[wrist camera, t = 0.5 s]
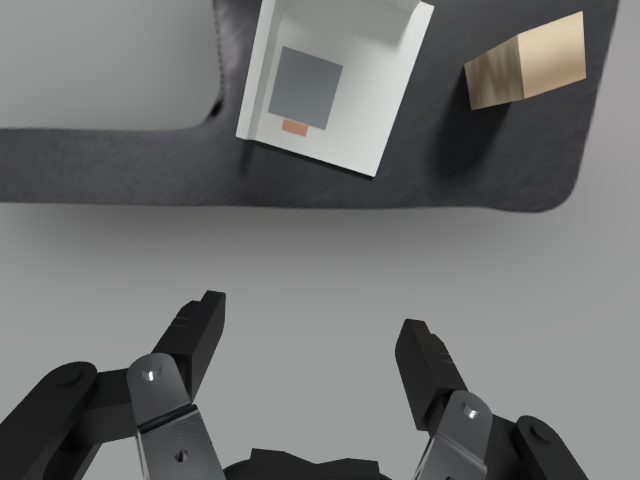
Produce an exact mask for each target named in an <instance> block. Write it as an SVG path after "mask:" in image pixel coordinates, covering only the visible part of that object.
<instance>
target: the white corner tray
mask: <svg viewBox="0 0 640 480" xmlns="http://www.w3.org/2000/svg"><path fill="white" fill-rule="evenodd" d="M420 1H421V0H263V1H262V6H261V11H260V16H259V21H258V26H257V31H256V36H255V41H254V46H253V51H252V56H251V61H250V66H249V72H248V77H247V82H246V87H245V92H244V97H243V102H242V107H241V112H240V117H239V122H238V127H237V132H236V137H240V138H243V139H246V140H257V141H260V142H264V143H267V144H270V145H273V146H277V147H280V148H283V149H286V150H289V151H293V152H296V153H299V154H302V155H306V156H309V157H312V158H315V159H318V160H322V161H325V162H328V163H331V164H335V165H338V166H341V167H344V168H348V169H351V170H354V171H357V172H360V173H364V174H367V175H370V176H373V177H375V174H376V171H377V168H378V166H379V163H380V160H381V157H382V154H383V151H384V148H385V146H386V143H387V140H388V137H389V134H390V131H391V129H392V126H393V123H394V120H395V117H396V114H397V111H398V109H399V106H400V103H401V100H402V97H403V94H404V91H405V89H406V86H407V83H408V80H409V77H410V74H411V72H412V69H413V66H414V63H415V60H416V57H417V54H418V52H419V49H420V46H421V43H422V40H423V37H424V35H425V32H426V29H427V26H428V23H429V20H430V17H431V15H432V12H433V9H434V6H431V5H428V4H426V3H423V2H420Z"/></svg>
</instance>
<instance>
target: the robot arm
mask: <svg viewBox="0 0 640 480" xmlns="http://www.w3.org/2000/svg"><path fill="white" fill-rule="evenodd" d="M225 301H226V294H225V293H223V292H216V291H209V290H207V292H206V293H205V294H204V296H203V298H202V299H201V301H193V300H192V301H190V302H189V303H188V304H186V305H185V306H183V307H182V308H181V309H180V311H179V312H178V314H177V315H176V318H174V320H173V321H172V323H171V325H170V326H169V327H168V329H167V330H166V332H165V333H164V334H163V336H162V337H161V339H160V340H159V342H158V343H157V345H156V346H155V348H154V349H153V351H152V352H151V353H150V354H147V355H145V356H142V357H140V358H139V359H137V360H136V361H135V362H133V363H132V364H131V366H130V367H129V368H125V369H120V370H113V371H106V372H99V373H97V369H96V367H95V366H94V365H93V364H91V363H89V362H80V361H79V362H72V363H68V364H65V365H62V366H60V367H58V368H56V369H54V370H52V371H51V372H49V373H48V374H47V375H46V376H45V377H44V378H43V379H42V380H41V381H40V382H39V383H38V384H37V385H36V386H35V387H34V388H33V389H32V390H31V391H30V393H29V394H28V395H27V396H26V397H25V398H24V399H23V400H22V401H21V402H20V403H19V404H18V405H17V407H16V408H15V409H14V410H13V411H12V412H11V413H10V414H9V415H8V416H7V417H6V418H5V420H4V421H3V422H2V423H1V424H0V480H82V478H83V476H84V474H85V473H86V471H87V469H88V468H89V466H90V464H91V462H92V461H93V459H94V457H95V455H96V453H97V452H98V450H99V448H100V447H101V445H102V443H105V442H110V441H114V440H119V439H124V438H128V437H133V436H135V441H136V446H137V451H138V456H139V461H140V466H141V471H142V476H143V480H392V479H390V478H388V477H387V476H385V475H383V474H380V472H379V466H378V461H370V460H361V459H351V458H346V459H341V460H336V461H331V462H325V463H320V464H314V463H311V462H309V461H306V460H303V459H301V458H299V457H296V456H294V455H291V454H289V453H286V452H284V451H273V450H264V449H255V448H252V452H251V457H250V459H248V460H244V461H240V462H238V463H235V464H233V465H230V466H228V467H226V468H225V469H223V470H222V467H221V465H220V462H219V460H218V457H217V455H216V452H215V450H214V447H213V445H212V442H211V439H210V437H209V434H208V432H207V429H206V427H205V424H204V422H203V419H202V417H201V414H200V412H199V410H198V408H197V406H196V405H195V404H193V405H192V403H193V401H194V398H195V396H196V394H197V391H198V389H199V387H200V384H201V382H202V379H203V377H204V375H205V372H206V370H207V368H208V366H209V363H210V361H211V358H212V356H213V354H214V351H215V349H216V347H217V344H218V342H219V340H220V337H221V335H222V332H223V328H224V321H225ZM395 357H396V361H397V365H398V368H399V372H400V375H401V378H402V382H403V385H404V388H405V391H406V395H407V398H408V401H409V405H410V408H411V412H412V415H413V418H414V422H415V425H416V428H417V430H421V431H428V433H429V436H430V439H429V441H428V442H427V445H426V447H425V450H424V452H423V454H422V457H421V459H420V461H419V464H418V466H417V469H416V471H415V473H414V476H413V478H412V480H588V478H587V477H586V475H585V474H584V472H583V471H582V469H581V468H580V466H579V465H578V463H577V462H576V460H575V459H574V457H573V456H572V454H571V453H570V451H569V450H568V448H567V447H566V445H565V444H564V442H563V441H562V439H561V438H560V437H559V435H558V434H557V433H556V432H555V431H554V430H553V429H552V428H551V427H550V426H548V425H547V424H546V423H544V422H543V421H541V420H539V419H537V418H535V417H532V416H527V415H526V416H521V417H520V418H519V419H518V421H517V422H516V423H514V422H511V421H509V420H506V419H504V418H501V417H499V416H496V415H494V414H492V413H491V410H490V409H489V407H488V406H487V405H486V403H485V402H484V401H483V400H481V399H480V398H479V397H478V396H476V395H475V394H473V393H471V392H469V391H468V389H467V387H466V385H465V383H464V382H463V379H462V378H461V376H460V374H459V372H458V370H457V368H456V366H455V364H454V363H453V360H452V358H451V356H450V355H449V353H448V351H447V349H446V347H445V345H444V343H443V342H442V341H441V340H440V339H439V338H438V337H437V336H436V335H435V334H430V332H429V330H428V327H427V325H426V323H425V322H424V321H420V320H413V319H406V320H405V322H404V324H403V327H402V329H401V332H400V335H399V338H398V340H397V343H396V348H395Z"/></svg>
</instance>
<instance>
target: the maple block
mask: <svg viewBox="0 0 640 480" xmlns="http://www.w3.org/2000/svg"><path fill="white" fill-rule="evenodd" d="M464 67H465V73H466V80H467V86H468V92H469V98H470V104H471V110H475V109H480V108H484V107H489V106H493V105H498V104H503V103H507V102H512V101H517V100H522V99H527V98H530V97H533V96H536V95H539V94H542V93H545V92H548V91H551V90H554V89H557V88H560V87H563V86H566V85H569V84H572V83H575V82H576V81H579V80H582V79H584V78H586V70H585V52H584V33H583V15H582V11H581V12H578V13H576V14H573V15H570V16H567V17H565V18H562V19H559V20H556V21H554V22H551V23H548V24H545V25H543V26H540V27H537V28H535V29H532V30H529V31H526V32H524V33H521V34H518V35H516V36H514V37H513V38H511V39H509V40H507V41H505V42H504V43H502V44H500V45H498V46H496V47H495V48H493V49H491V50H489V51H488V52H486V53H484V54H482V55H480V56H479V57H477V58H475V59H473V60H471V61H470V62H468V63H466V64H464Z"/></svg>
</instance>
